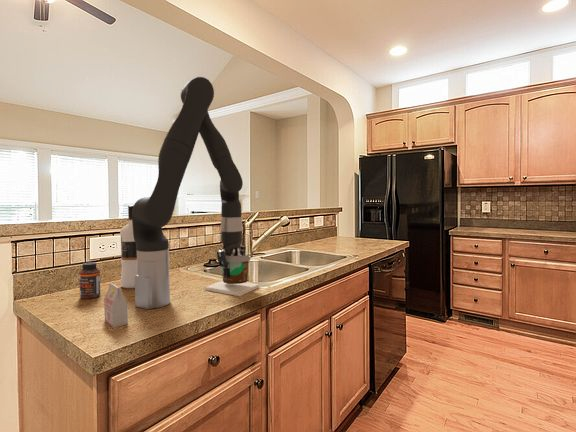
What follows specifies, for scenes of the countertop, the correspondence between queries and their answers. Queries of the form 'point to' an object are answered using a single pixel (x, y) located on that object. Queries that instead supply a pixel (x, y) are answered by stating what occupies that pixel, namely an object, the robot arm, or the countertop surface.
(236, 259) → the food container
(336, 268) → the countertop surface
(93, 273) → the supplement bottle
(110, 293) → the white milk carton
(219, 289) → the cutting board
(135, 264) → the vodka
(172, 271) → the countertop surface
